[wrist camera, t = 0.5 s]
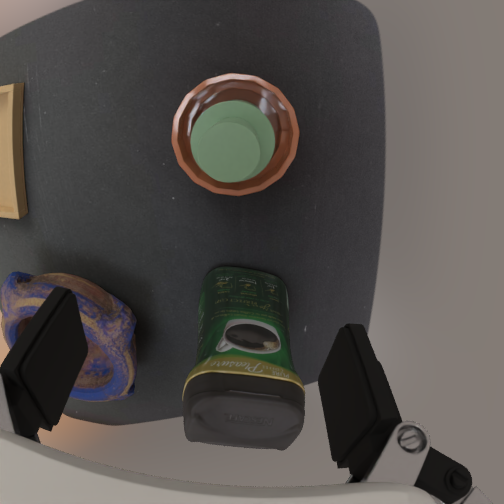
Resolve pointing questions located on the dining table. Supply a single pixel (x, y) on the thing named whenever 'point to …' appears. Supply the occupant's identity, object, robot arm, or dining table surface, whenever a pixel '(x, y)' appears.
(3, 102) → the tray
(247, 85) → the clay bowl
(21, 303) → the bowl
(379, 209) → the dining table surface
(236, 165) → the bottle
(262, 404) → the coffee jar
